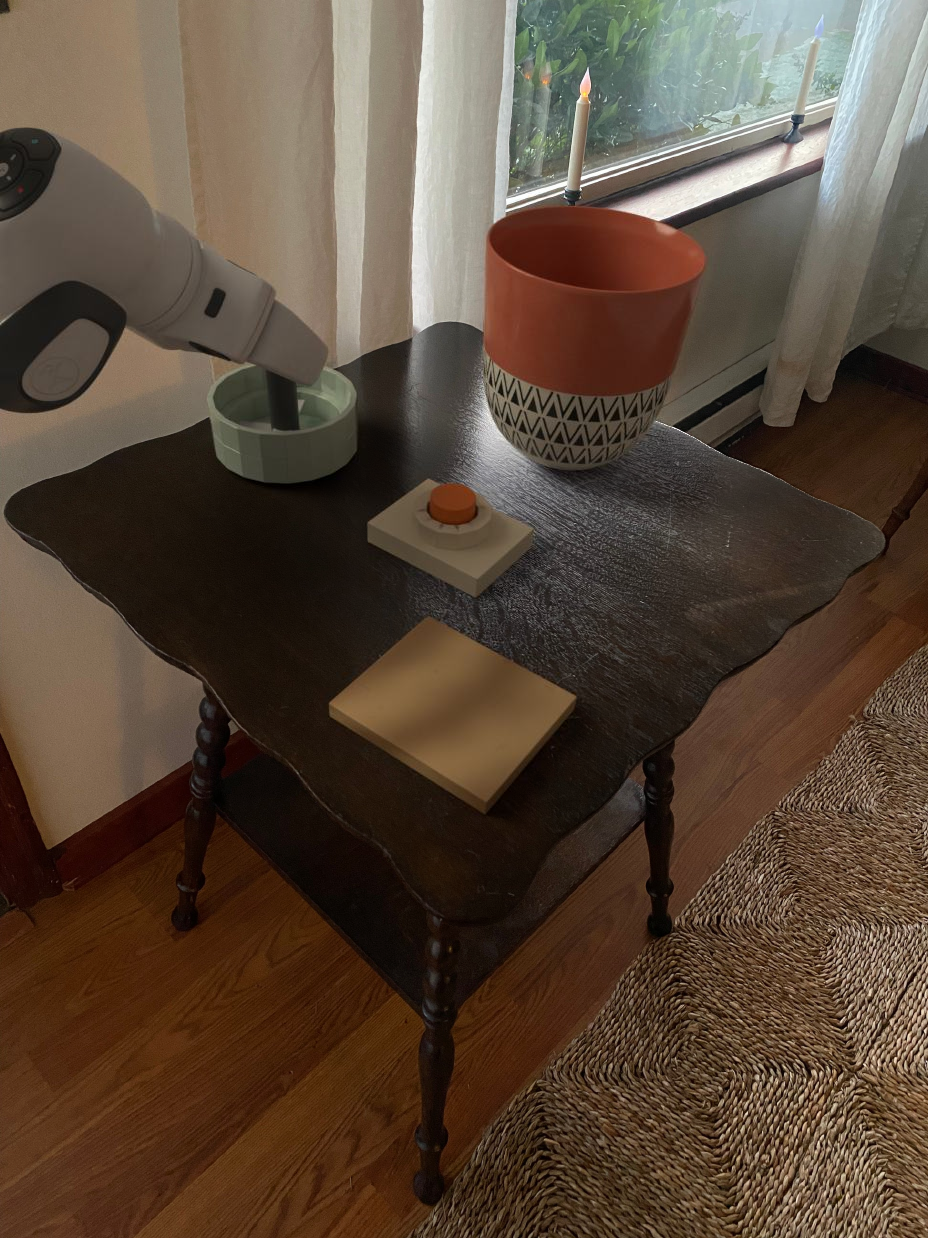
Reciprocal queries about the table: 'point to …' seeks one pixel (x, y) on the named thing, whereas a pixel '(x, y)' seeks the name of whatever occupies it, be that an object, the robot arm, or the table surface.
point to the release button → (452, 504)
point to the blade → (280, 405)
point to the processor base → (451, 540)
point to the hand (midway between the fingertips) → (267, 356)
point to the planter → (583, 328)
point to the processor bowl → (289, 451)
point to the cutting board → (454, 711)
